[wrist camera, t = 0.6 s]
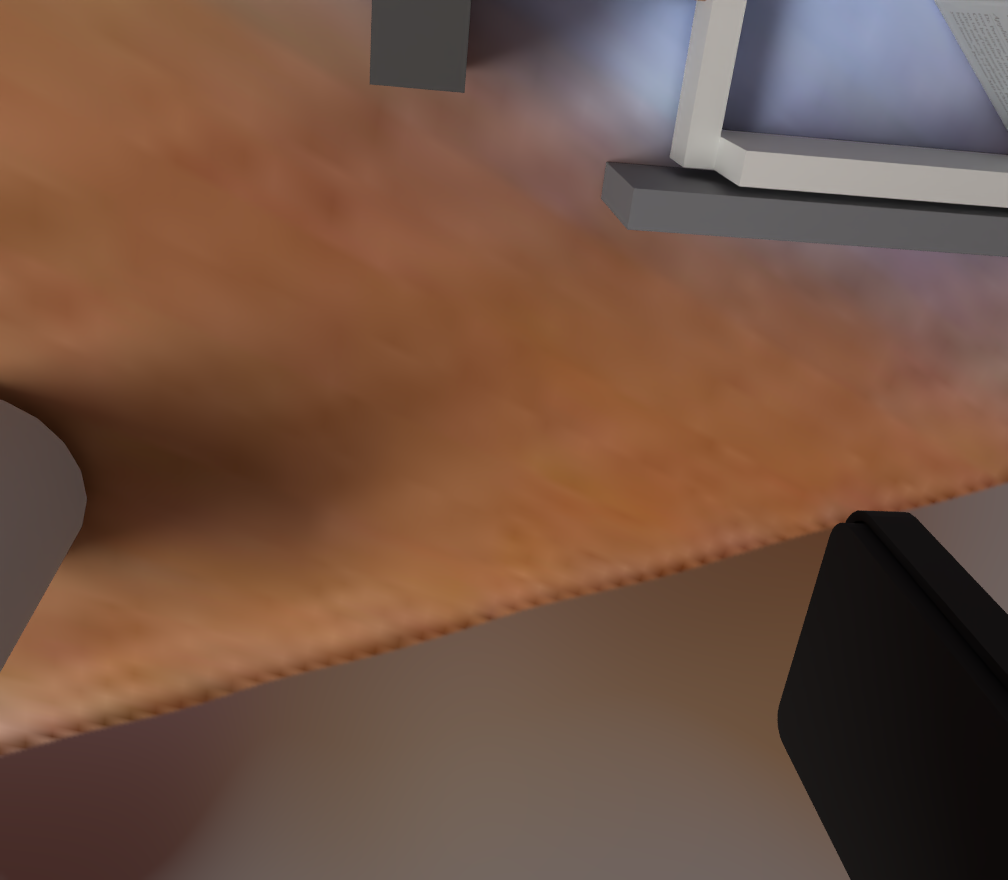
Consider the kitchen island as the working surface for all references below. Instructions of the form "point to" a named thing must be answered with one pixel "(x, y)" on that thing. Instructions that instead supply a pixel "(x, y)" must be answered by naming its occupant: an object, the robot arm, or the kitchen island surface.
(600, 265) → the kitchen island surface
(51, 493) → the can
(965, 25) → the skincare box
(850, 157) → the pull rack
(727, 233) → the tray
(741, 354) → the kitchen island surface
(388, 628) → the kitchen island surface
